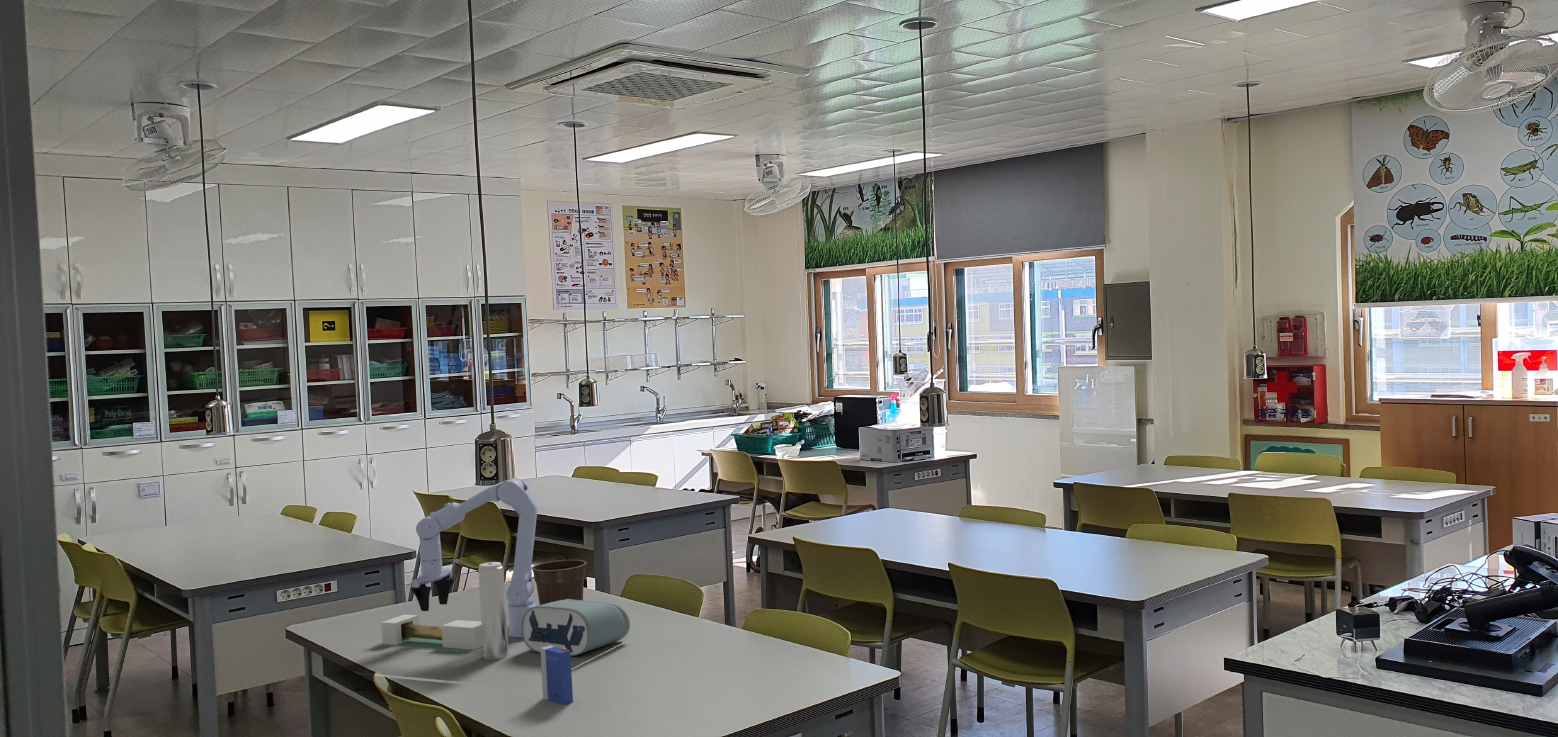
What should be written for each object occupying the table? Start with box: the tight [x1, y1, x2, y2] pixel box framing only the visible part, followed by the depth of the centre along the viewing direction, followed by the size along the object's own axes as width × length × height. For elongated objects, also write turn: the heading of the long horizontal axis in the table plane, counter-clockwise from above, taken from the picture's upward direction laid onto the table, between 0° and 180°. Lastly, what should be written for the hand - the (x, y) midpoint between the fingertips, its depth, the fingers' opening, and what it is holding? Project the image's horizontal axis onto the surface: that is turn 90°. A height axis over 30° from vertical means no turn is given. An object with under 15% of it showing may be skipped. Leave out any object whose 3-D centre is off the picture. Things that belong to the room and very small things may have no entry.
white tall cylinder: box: [477, 561, 510, 661], centre depth 287 cm, size 6×6×25 cm
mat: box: [376, 638, 483, 654], centre depth 304 cm, size 32×12×1 cm, turn 66°
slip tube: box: [401, 624, 442, 640], centre depth 305 cm, size 21×4×4 cm, turn 66°
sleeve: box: [441, 619, 483, 651], centre depth 300 cm, size 11×6×6 cm, turn 66°
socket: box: [381, 614, 420, 645], centre depth 309 cm, size 5×9×6 cm, turn 156°
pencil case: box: [522, 599, 631, 657], centre depth 293 cm, size 22×19×13 cm
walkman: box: [540, 646, 574, 705], centre depth 249 cm, size 8×3×12 cm, turn 47°
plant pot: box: [531, 559, 587, 605], centre depth 328 cm, size 16×16×16 cm
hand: (434, 607), depth 309 cm, fingers open, 7 cm apart
